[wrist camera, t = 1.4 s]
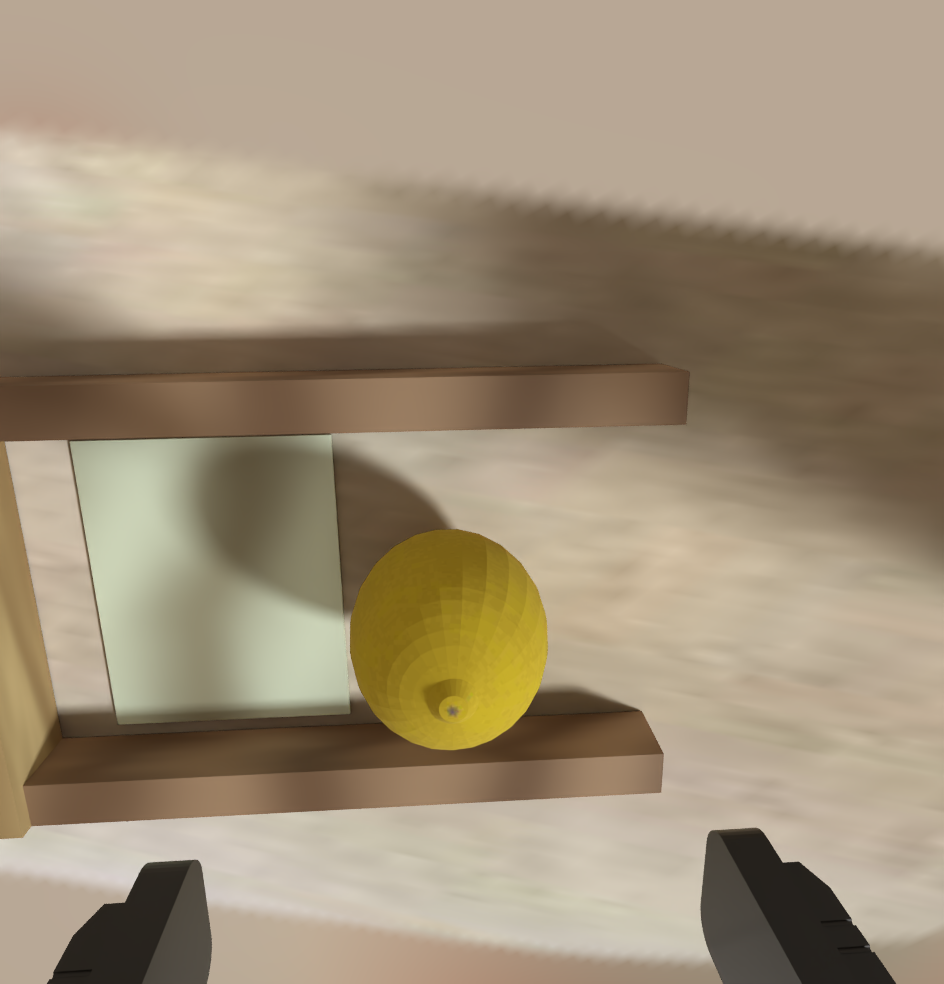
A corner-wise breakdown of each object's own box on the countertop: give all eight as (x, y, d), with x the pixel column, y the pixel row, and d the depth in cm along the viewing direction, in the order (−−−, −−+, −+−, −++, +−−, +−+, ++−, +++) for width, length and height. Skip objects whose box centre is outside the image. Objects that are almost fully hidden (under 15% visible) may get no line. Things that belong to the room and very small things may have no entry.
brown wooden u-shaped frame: (661, 363, 22) (696, 373, 19) (639, 746, 26) (665, 802, 23) (-61, 378, 21) (-138, 391, 18) (26, 777, 25) (-27, 840, 22)
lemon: (332, 548, 23) (284, 673, 16) (478, 468, 23) (504, 556, 15) (415, 677, 25) (409, 849, 17) (554, 604, 24) (613, 746, 17)
